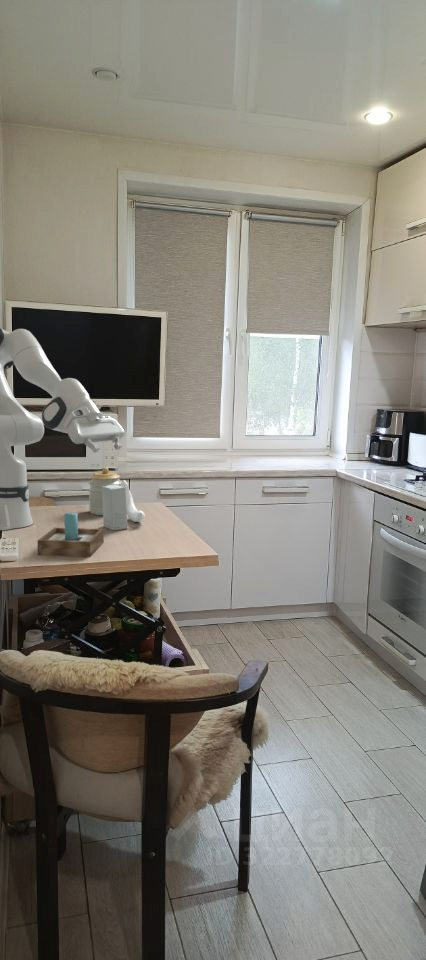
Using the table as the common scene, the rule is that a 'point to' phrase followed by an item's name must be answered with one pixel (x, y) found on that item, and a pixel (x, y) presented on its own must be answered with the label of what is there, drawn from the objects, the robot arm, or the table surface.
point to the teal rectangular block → (71, 526)
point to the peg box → (71, 543)
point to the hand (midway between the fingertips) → (108, 449)
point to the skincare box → (114, 507)
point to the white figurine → (132, 507)
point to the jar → (100, 489)
